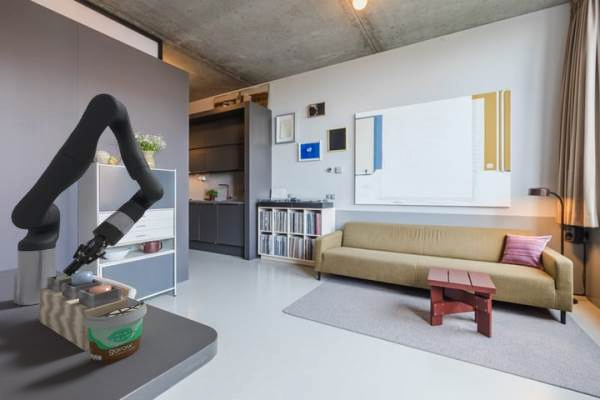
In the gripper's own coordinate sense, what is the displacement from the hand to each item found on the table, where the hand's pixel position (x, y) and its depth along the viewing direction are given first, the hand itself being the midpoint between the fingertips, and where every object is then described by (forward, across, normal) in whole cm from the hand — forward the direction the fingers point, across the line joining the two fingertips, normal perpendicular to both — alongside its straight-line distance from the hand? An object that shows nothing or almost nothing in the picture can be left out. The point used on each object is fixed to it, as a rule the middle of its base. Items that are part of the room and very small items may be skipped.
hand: (66, 274), depth 78 cm
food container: (+10, +32, +9) cm, 35 cm away
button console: (+9, +10, +9) cm, 16 cm away
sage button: (+3, 0, +3) cm, 4 cm away
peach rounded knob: (+3, +20, +3) cm, 20 cm away
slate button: (+1, +10, +1) cm, 10 cm away
